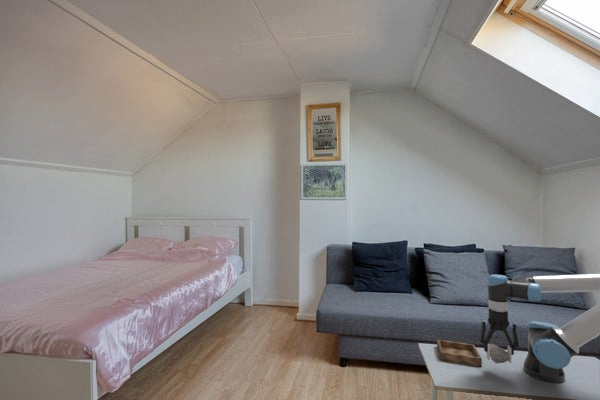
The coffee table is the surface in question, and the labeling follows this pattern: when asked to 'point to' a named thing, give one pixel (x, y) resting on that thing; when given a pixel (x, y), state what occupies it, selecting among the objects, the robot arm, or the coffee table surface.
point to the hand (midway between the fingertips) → (498, 360)
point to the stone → (498, 354)
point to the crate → (459, 353)
